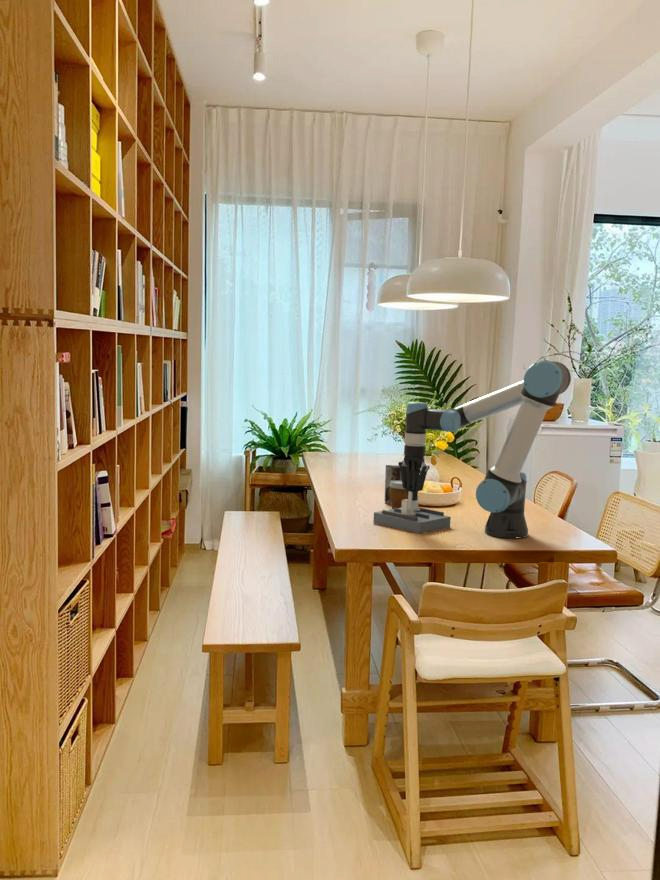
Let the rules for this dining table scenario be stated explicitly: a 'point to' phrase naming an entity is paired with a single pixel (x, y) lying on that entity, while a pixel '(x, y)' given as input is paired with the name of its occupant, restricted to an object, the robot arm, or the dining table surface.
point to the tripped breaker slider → (406, 508)
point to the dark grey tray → (413, 519)
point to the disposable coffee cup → (397, 493)
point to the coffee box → (391, 475)
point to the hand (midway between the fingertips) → (411, 508)
